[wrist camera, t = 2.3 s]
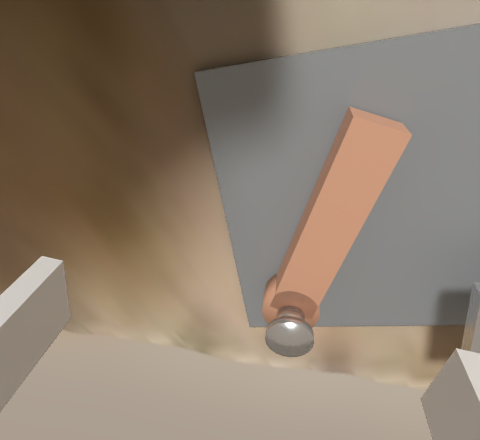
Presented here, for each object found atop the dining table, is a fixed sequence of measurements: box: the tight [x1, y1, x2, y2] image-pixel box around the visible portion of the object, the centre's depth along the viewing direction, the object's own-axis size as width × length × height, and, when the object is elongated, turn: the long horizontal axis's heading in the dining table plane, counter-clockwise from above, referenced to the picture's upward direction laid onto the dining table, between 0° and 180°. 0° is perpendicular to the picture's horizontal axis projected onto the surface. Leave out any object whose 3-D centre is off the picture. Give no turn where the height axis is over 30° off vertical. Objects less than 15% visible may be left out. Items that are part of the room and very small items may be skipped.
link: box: [262, 106, 412, 328], centre depth 30 cm, size 21×5×3 cm, turn 165°
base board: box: [194, 24, 480, 327], centre depth 30 cm, size 26×26×1 cm
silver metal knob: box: [265, 305, 314, 357], centre depth 31 cm, size 4×4×3 cm
